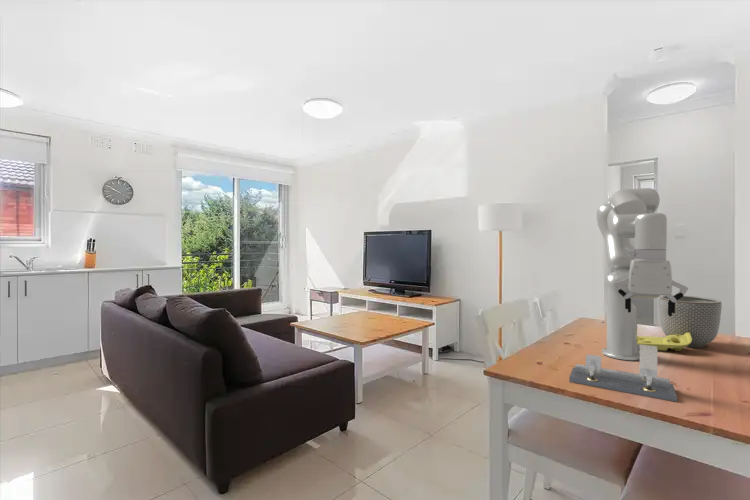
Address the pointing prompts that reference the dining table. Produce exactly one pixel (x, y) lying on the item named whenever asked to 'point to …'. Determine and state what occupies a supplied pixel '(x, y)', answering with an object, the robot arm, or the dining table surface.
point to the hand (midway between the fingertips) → (649, 313)
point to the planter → (692, 318)
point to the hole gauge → (620, 380)
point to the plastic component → (666, 341)
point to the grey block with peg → (648, 363)
